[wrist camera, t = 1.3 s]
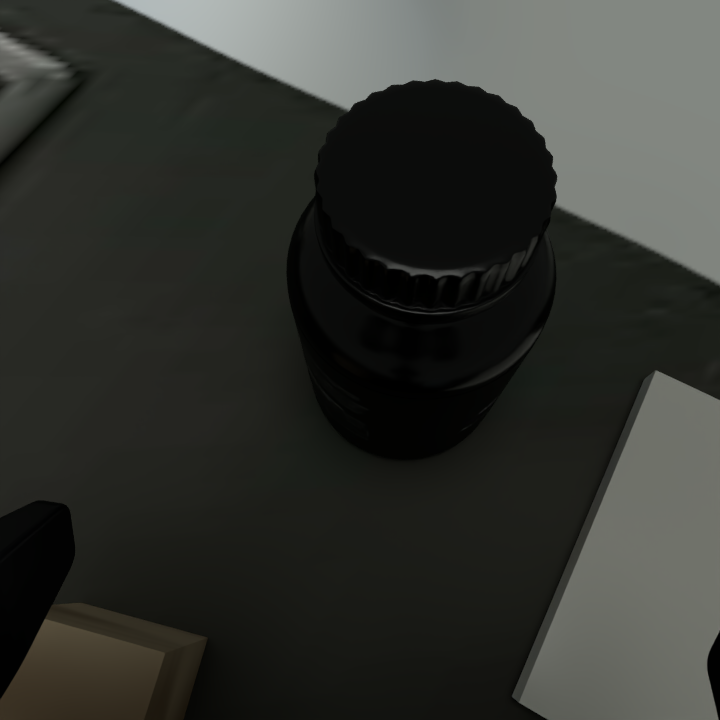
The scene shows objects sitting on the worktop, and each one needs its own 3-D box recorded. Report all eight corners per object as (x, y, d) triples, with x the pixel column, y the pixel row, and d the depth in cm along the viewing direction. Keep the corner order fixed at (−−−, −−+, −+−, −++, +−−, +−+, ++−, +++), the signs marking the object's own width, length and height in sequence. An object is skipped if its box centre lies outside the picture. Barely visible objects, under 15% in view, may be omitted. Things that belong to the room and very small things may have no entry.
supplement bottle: (510, 451, 22) (655, 319, 11) (321, 472, 22) (267, 361, 11) (477, 280, 24) (568, 24, 13) (305, 299, 24) (249, 56, 13)
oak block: (162, 793, 19) (101, 855, 15) (27, 751, 19) (-70, 800, 15) (208, 637, 20) (165, 652, 16) (82, 602, 21) (7, 608, 17)
